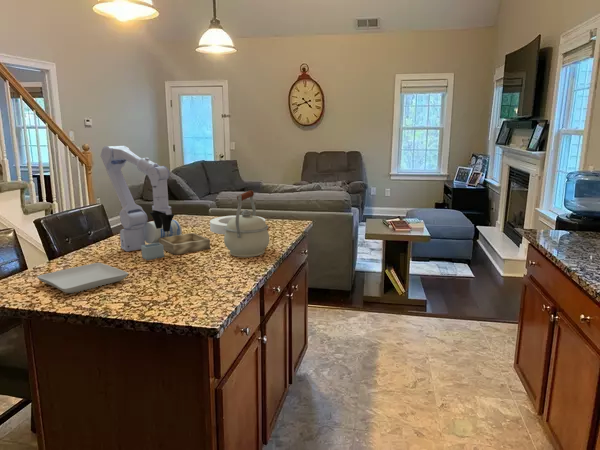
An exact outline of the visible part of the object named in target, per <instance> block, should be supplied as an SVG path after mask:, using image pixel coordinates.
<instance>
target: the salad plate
mask: <svg viewBox="0 0 600 450" xmlns="http://www.w3.org/2000/svg"><path fill="white" fill-rule="evenodd" d="M128 275H129V272H127V271H125V270H122V269H120V268H117V267H114V266H111V265H108V264H106V263H102V262H94V263H90V264H83V265H80V266H74V267H70V268H65V269H62V270H56V271H53V272H48V273H44V274H39V275H37V280H39V281H41V282H42V283H45V284H47V285H49V286H52V287H54V288H56V289H58V290H60V291H62V292H64V293H65V294H75V293H74V292H77V293H80V292H79V291H81V292H84V291H83V290H85V291H88V290H87V289H89V290H92V289H91V288H93V289H96V288H95V287H97V288H99V287H98V286H100V287H103V286H102V285H104V286H107V285H106V284H108V285H111V284H115V283H116V282H120V281H122V280H124V279H125V278H127V277H128ZM110 283H111V284H110Z"/></svg>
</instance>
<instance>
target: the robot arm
mask: <svg viewBox="0 0 600 450" xmlns="http://www.w3.org/2000/svg"><path fill="white" fill-rule="evenodd" d="M100 158H101V161H102V162H103V165H104V168H105V170H106V173H107V176H108V177H109V179H110V182H111V184H112V187H113V189H114V192H115V194H116V196H117V198H118V200H119V202H120V206H121V209H120V211H119V213H118V215H119V218H120V224H121V225H122V227H123V229H120V231H119V238H120V249H122V250H124V251H125V252H131V251H132V252H133V251H136V250H137V251H138V250H139V251H140V250H142V249H141V245H146V241H145V236H144V227H145V224H146V223H147V222H148V215H147V213H146V212H145V211H144V209H143V207H142V206H141V205H139V204H137V203H135V200H134V198H133V195H132V193H131V191H130V188H129V186H128V183H127V181H126V179H125V177H124V174H123V172H122V168H123V167H124V166H125V164H126V163H127V162H129V163H131V164H133V165H135V166H136V168H137V170H138V171H140V172H141V173H143V174H144V175H146V176H147V177H148V179H149V181H150V185H151V186H152V201H153V205H151V208H152V209H151V210H152V211H150V212H149V214H150V216H151V218H152V220H153V222H154V223H155V226H156V229H159V228H162V225H163V230H164V232H167V231H170V226H171V221H172V220H174V219H173V218H174V216H175V214H174V213H172V206H170V205H169V204H170V203H169V194H168V193H169V192H168V180H169V178H170V176H171V175H170V174H171V173H170V172H171V171H170V170H169V168H168V167H167V166H166V165H159V164H158V163H157V162H154V161H152V160H151V159H150V158H149V157H140V156H138V155H137V154H135V152H133V151H132V150H131V149H130V147H127V146H126V145H113V146H112V145H111V146H108V145H104V146H103V147H102V148H101V153H100Z"/></svg>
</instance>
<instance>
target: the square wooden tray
mask: <svg viewBox="0 0 600 450" xmlns="http://www.w3.org/2000/svg"><path fill="white" fill-rule="evenodd" d="M159 243H160V244H162V245H163V246H164V251H166V252H167V253H170V254H172V255H173V256H176V255H181V254H182V255H183V254H186V253H187V254H188V253H193V252H200V251H205V250H209V249H211V239H210V238H207V237H204V236H202V235H199V234H197V233H195V232H191V233H182V234H181V235H176V236H170V237H163V238H159Z"/></svg>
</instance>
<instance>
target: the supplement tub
mask: <svg viewBox="0 0 600 450" xmlns="http://www.w3.org/2000/svg"><path fill="white" fill-rule="evenodd" d="M176 235H183V229H182V226H181V224H180V221H178V220H176V219H172V221H171V226H170V231H167V232H164V230H163V225H162V228H159V229H156V226H155V223H154V221H147V223H146V224H145V227H144V236H145V243H147V244H153V243H159V238H163V237H170V236H176Z"/></svg>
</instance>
